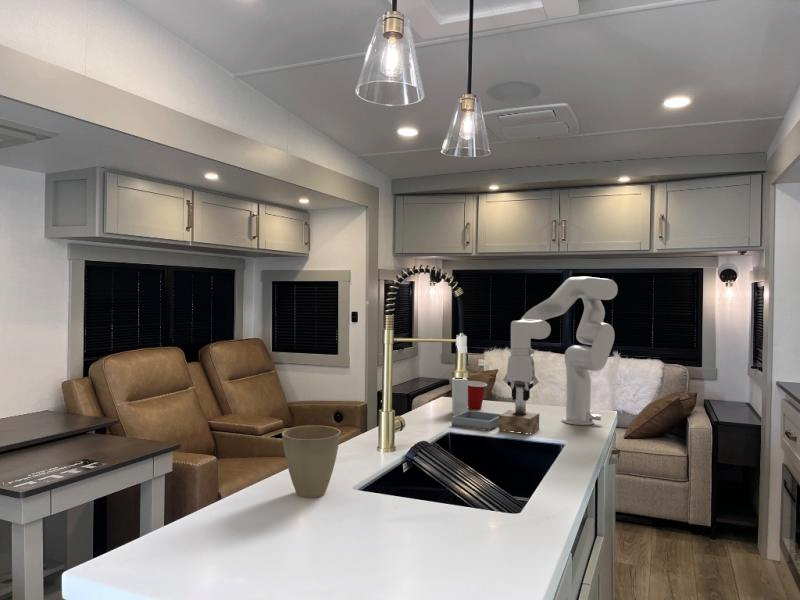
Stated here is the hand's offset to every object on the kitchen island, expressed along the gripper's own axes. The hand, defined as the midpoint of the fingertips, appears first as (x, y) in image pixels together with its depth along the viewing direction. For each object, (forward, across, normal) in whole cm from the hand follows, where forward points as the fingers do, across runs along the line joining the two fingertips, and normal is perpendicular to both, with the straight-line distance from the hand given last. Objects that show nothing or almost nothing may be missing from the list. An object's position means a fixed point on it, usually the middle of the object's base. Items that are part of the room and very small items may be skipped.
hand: (520, 399), depth 227 cm
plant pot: (+10, +22, +100) cm, 103 cm away
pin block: (+12, 0, +1) cm, 12 cm away
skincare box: (+12, +32, -14) cm, 37 cm away
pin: (+7, 0, 0) cm, 7 cm away
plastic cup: (+12, +31, -29) cm, 45 cm away
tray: (+12, +17, +1) cm, 21 cm away
